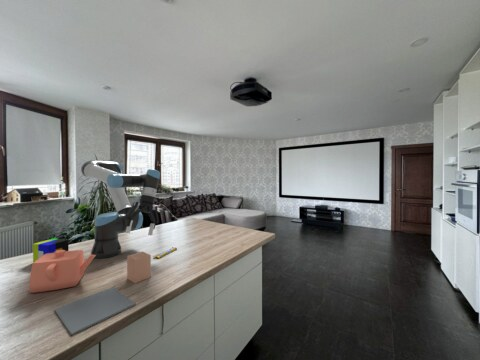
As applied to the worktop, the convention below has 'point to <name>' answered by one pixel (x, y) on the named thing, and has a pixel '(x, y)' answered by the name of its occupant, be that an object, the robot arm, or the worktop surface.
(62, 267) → the teapot
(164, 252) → the candy bar
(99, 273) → the worktop surface
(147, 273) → the block
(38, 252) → the puzzle toy
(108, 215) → the robot arm
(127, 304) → the mat
